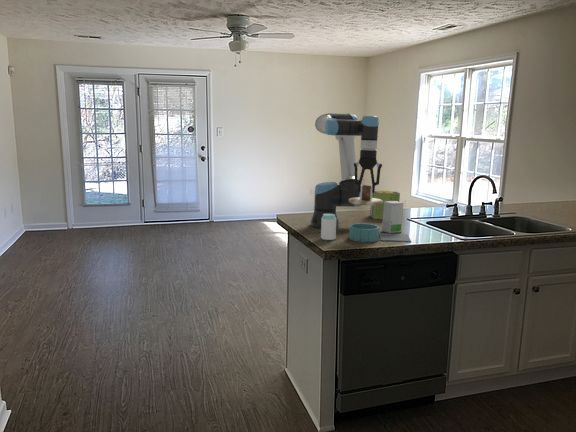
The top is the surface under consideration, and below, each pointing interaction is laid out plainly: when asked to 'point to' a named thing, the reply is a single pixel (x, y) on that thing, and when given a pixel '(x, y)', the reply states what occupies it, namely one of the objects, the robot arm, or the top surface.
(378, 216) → the protein box
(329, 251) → the top surface
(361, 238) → the bowl
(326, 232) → the can
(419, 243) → the top surface
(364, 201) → the lid
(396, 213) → the skincare box
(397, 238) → the mat
